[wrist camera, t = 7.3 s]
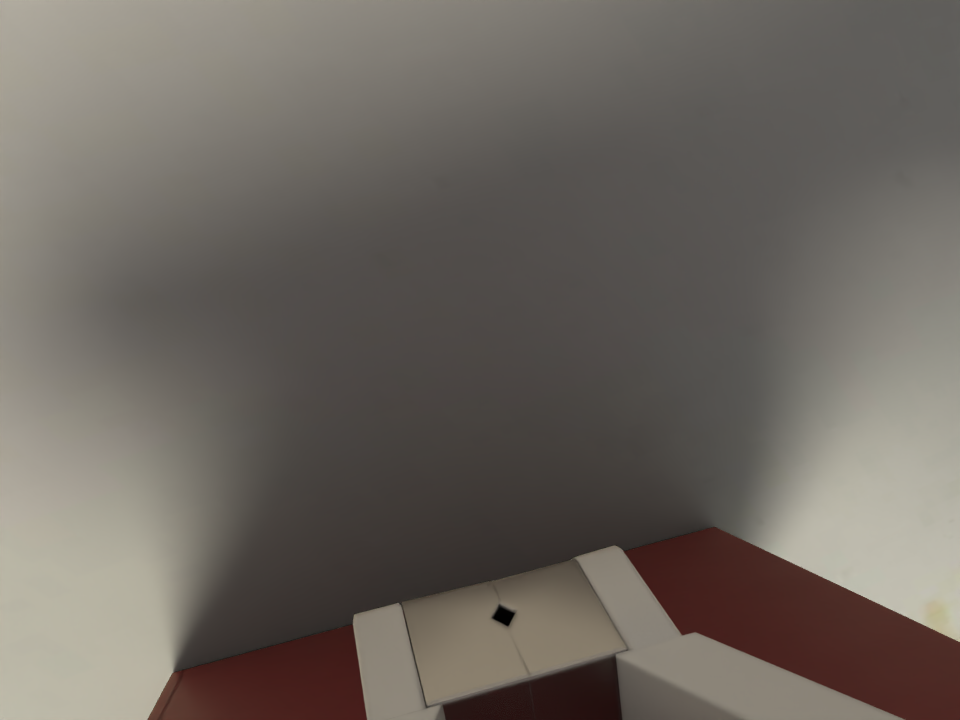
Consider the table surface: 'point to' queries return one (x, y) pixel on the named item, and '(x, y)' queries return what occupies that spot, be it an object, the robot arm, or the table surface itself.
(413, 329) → the table surface
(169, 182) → the table surface
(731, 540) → the hardcover
